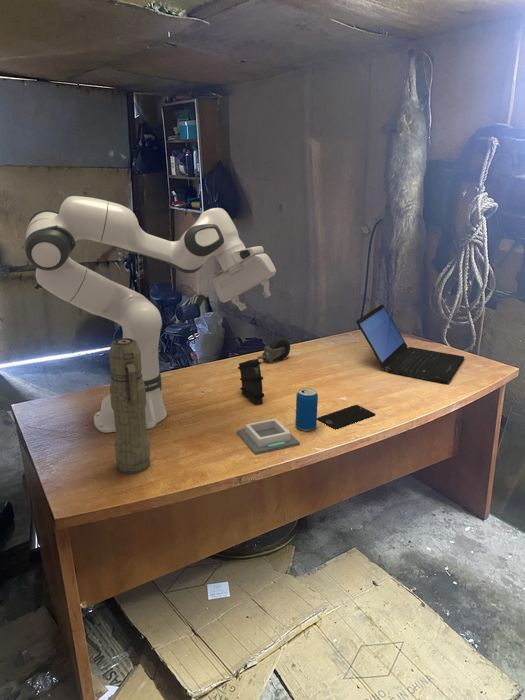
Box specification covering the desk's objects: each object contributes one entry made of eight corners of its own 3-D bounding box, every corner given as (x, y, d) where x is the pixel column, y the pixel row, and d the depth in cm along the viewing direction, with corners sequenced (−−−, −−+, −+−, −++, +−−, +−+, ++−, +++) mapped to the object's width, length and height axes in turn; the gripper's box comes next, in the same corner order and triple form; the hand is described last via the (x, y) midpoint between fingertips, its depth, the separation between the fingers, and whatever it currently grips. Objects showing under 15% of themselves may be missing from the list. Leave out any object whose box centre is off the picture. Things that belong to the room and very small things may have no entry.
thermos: (127, 480, 136) (116, 351, 125) (109, 460, 145) (97, 338, 134) (159, 469, 141) (151, 344, 130) (139, 450, 150) (130, 332, 139)
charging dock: (255, 454, 149) (255, 444, 148) (236, 432, 161) (236, 422, 160) (299, 444, 154) (299, 434, 153) (278, 424, 166) (278, 414, 165)
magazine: (258, 404, 176) (249, 360, 177) (243, 406, 188) (235, 364, 189) (268, 402, 177) (260, 358, 178) (252, 404, 189) (245, 362, 190)
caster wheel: (283, 357, 226) (253, 361, 218) (285, 335, 224) (255, 338, 215) (291, 361, 222) (261, 365, 213) (293, 339, 219) (263, 342, 211)
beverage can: (303, 420, 169) (304, 385, 165) (320, 426, 165) (322, 390, 161) (291, 427, 164) (292, 391, 160) (308, 434, 161) (310, 397, 157)
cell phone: (315, 420, 170) (316, 417, 170) (356, 406, 180) (356, 404, 180) (335, 431, 163) (335, 428, 163) (376, 416, 173) (376, 413, 173)
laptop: (447, 386, 197) (454, 336, 191) (351, 367, 215) (355, 320, 208) (465, 359, 224) (471, 315, 218) (378, 344, 242) (382, 302, 236)
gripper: (203, 277, 159) (224, 319, 159) (255, 245, 148) (277, 290, 148) (215, 274, 164) (235, 315, 165) (266, 243, 153) (287, 287, 154)
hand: (255, 303), depth 156 cm, fingers open, 8 cm apart
